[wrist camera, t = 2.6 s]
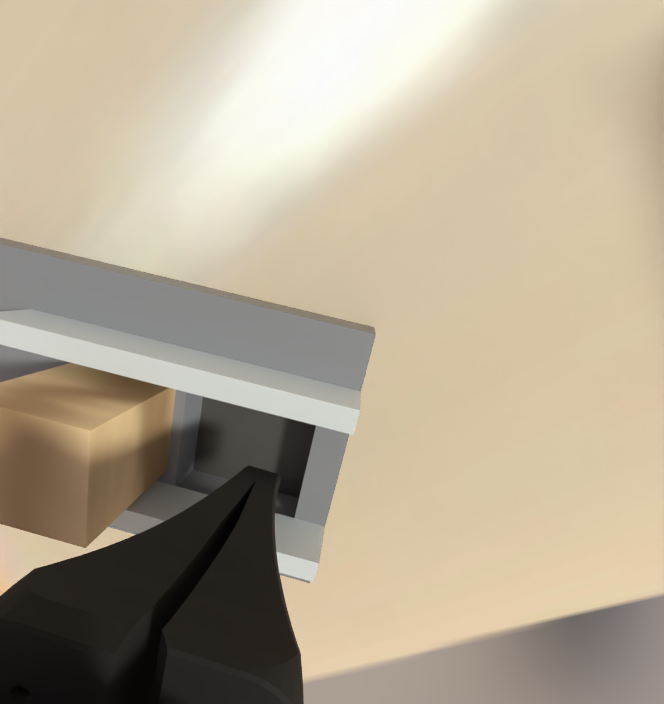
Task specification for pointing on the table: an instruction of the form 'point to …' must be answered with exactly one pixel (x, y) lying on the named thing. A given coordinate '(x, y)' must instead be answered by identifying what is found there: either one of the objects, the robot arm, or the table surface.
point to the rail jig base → (200, 380)
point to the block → (79, 449)
